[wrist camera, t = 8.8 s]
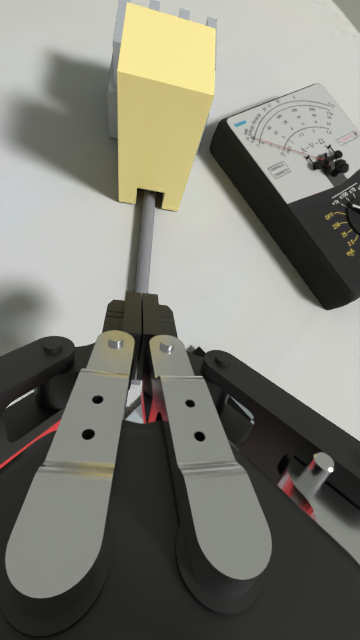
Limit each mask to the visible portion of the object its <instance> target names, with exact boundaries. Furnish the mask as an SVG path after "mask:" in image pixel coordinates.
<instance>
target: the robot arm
mask: <svg viewBox="0 0 360 640" xmlns="http://www.w3.org/2000/svg"><path fill="white" fill-rule="evenodd" d="M174 323H175V322H174V317H173V312H172V310H171V309H170V308H169V307H168V306H166V305H159V303H158V295H156V294H148V293H142V297H141V293H139V292H131V291H126V296H125V301H121V300H113V301H111V302H110V303H109V304H108V307H107V312H106V317H105V321H104V326H103V331H102V334H100V335H99V336H98V338H97V340H96V342H95V343H93V344H90V345H87V346H81V347H75V346H74V343H73V342H72V341H71V340H69V339H67V338H65V337H60V336H49V337H44V338H41V339H39V340H36V341H34V342H32V343H30V344H27V345H25V346H23V347H21V348H18V349H16V350H14V351H12V352H9V353H7V354H5V355H3V356H0V465H1V464H2V463H3V462H5V461H6V460H8V459H9V458H10V457H12V456H13V455H14V454H16V453H17V452H18V451H20V450H21V449H22V448H24V447H25V446H26V445H28V444H29V443H30V442H32V441H33V440H34V439H36V438H37V437H38V436H40V435H41V434H42V433H44V432H45V431H46V430H48V429H49V428H50V427H52V426H53V425H54V424H56V423H57V422H58V421H60V420H61V421H60V424H59V426H58V429H57V430H55V431H53V432H50V433H48V434H46V435H44V436H43V437H41V438H39V439H38V440H36V441H35V442H33V443H32V444H31V445H30V446H28V447H27V448H26V449H24V450H23V451H22V452H21V453H19V454H18V455H17V456H16V457H14V458H13V459H12V460H11V461H9V462H8V463H7V464H6V465H4V466H3V467H2V468H1V469H0V640H360V441H358V440H357V439H355V438H354V437H353V436H351V435H350V434H348V433H347V432H345V431H344V430H342V429H341V428H339V427H338V426H336V425H335V424H333V423H332V422H330V421H329V420H327V419H326V418H324V417H323V416H321V415H320V414H318V413H317V412H316V411H314V410H313V409H311V408H310V407H308V406H307V405H305V404H304V403H302V402H301V401H299V400H298V399H296V398H295V397H293V396H292V395H290V394H289V393H287V392H286V391H284V390H283V389H282V388H280V387H279V386H277V385H276V384H274V383H273V382H271V381H270V380H268V379H267V378H265V377H264V376H262V375H261V374H259V373H258V372H256V371H255V370H253V369H252V368H250V367H249V366H248V365H246V364H245V363H243V362H242V361H240V360H239V359H237V358H236V357H234V356H233V355H231V354H229V353H227V352H224V351H220V350H212V351H209V352H207V353H206V354H205V357H204V358H203V357H200V356H197V355H194V354H191V353H189V352H187V351H186V349H185V346H184V344H183V343H182V342H181V341H180V340H179V339H178V337H177V332H176V327H175V324H174ZM136 368H137V372H136ZM135 375H136V380H142V390H141V404H142V413H143V424H141V423H136V422H132V421H128V420H124V415H125V409H126V402H127V396H128V390H129V389H130V386H131V380H135ZM33 389H34V392H33V393H31V394H30V395H28V396H26V397H25V398H23V399H21V400H20V401H18V402H16V403H15V404H13V405H11V406H10V407H8V408H6V407H7V406H8V405H9V404H10V403H11V402H12V401H14V400H16V399H17V398H19V397H21V396H22V395H24V394H26V393H27V392H29V391H31V390H33ZM229 396H231V397H232V398H233V399H235V400H236V401H237V402H238V403H240V404H241V405H242V406H244V407H245V408H246V409H247V410H249V411H250V412H251V414H252V415H253V417H254V424H252V423H251V422H250V421H249V420H247V419H246V418H245V417H244V416H242V415H241V414H240V413H239V412H237V411H236V410H235V409H234V408H232V407H231V406H230V405H229V404H227V403H226V402H227V400H228V397H229Z"/></svg>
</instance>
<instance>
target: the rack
mask: <svg viewBox="0 0 360 640" xmlns="http://www.w3.org/2000/svg"><path fill="white" fill-rule="evenodd" d="M127 2H129V3H130V0H119V3H118V10H117V16H116V23H115V29H114V36H113V55H112V61H111V68H110V75H109V81H108V88H107V101H108V123H109V137H112V138H117V139H118V94H117V69H118V62H119V55H120V48H121V41H122V34H123V27H124V20H125V13H126V5H127ZM159 7H160V2H158V1H155V0H150V6H149V9H152V10H155V11H159ZM189 13H190V11H187V10H184V9H181V8H180V14H179V18H182V19H185V20H189ZM206 26H209V27H212V28H215V29H216V36H217V19H213V18H210V17H208V18H207V23H206ZM215 70H216V39H215ZM208 117H209V114H208ZM208 117H207V120H208ZM207 120H206V123H207ZM206 123H205V126H204V129H203V133H204V130H205V127H206ZM203 133H202V136H203ZM202 136H201V139H202ZM201 139H200V142H201ZM200 142H199V145H200ZM199 145H198V148H199ZM198 148H197V151H198ZM197 151H196V155H197Z"/></svg>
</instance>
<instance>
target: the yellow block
mask: <svg viewBox="0 0 360 640" xmlns="http://www.w3.org/2000/svg"><path fill="white" fill-rule="evenodd" d="M215 39H216V29H215V28H212V27H209V26H205V25H202V24H199V23H195V22H192V21H189V20H185V19H182V18H179V17H175V16H172V15H169V14H165V13H162V12H159V11H155V10H152V9H149V8H145V7H142V6H139V5H135V4H132V3H129V2H127V5H126V13H125V20H124V27H123V34H122V41H121V48H120V55H119V62H118V69H117V94H118V180H119V201H120V202H126V203H132V204H136V196H137V188H141V189H147V190H152V191H158V192H163V196H162V209H167V210H173V211H178V208H179V205H180V202H181V199H182V196H183V193H184V189H185V186H186V183H187V180H188V177H189V174H190V170H191V167H192V164H193V161H194V158H195V155H196V151H197V148H198V145H199V142H200V139H201V136H202V133H203V129H204V126H205V123H206V120H207V117H208V114H209V110H210V107H211V104H212V101H213V98H214V83H215Z"/></svg>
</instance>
